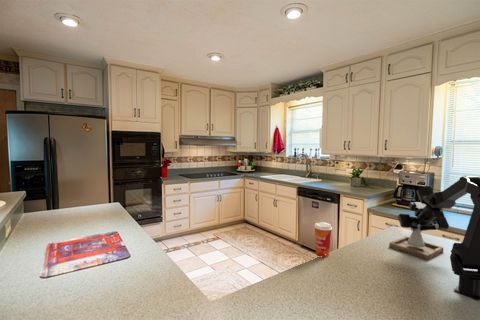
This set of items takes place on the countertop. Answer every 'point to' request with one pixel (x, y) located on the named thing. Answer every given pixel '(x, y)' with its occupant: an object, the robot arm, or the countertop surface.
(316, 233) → the paper cup
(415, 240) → the flask
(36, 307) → the countertop surface
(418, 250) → the walnut tray
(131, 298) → the countertop surface
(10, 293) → the countertop surface
